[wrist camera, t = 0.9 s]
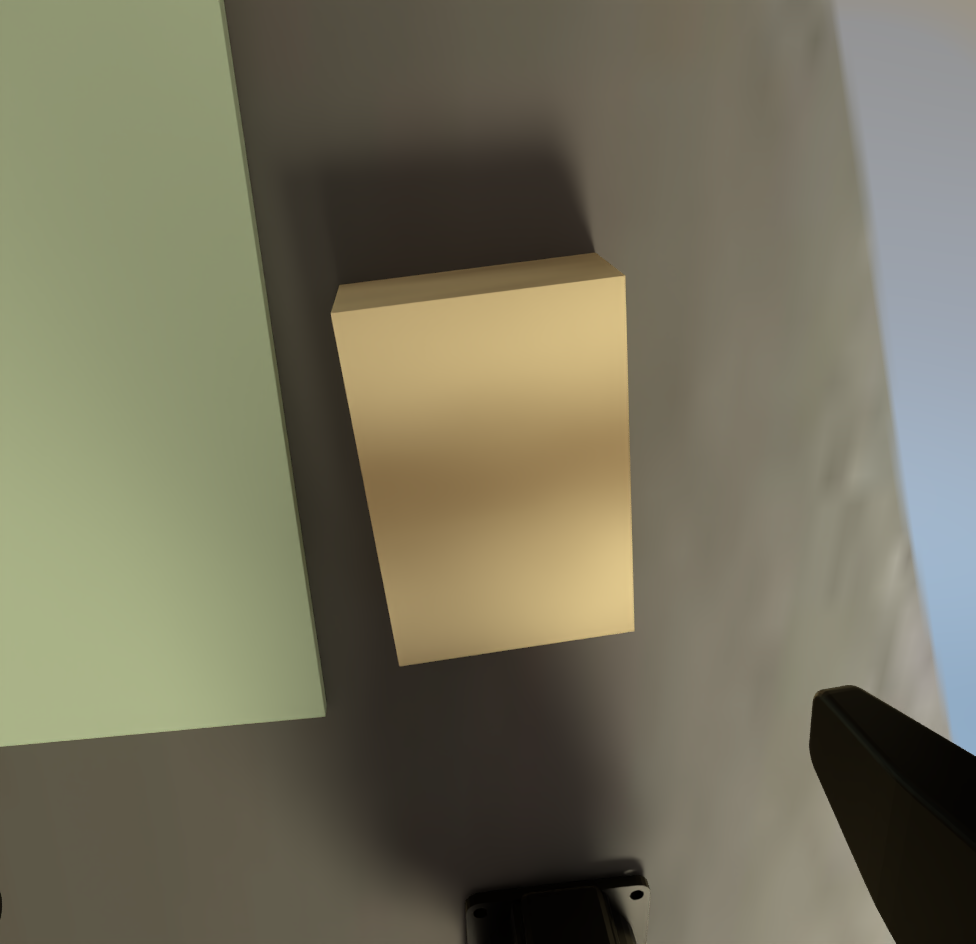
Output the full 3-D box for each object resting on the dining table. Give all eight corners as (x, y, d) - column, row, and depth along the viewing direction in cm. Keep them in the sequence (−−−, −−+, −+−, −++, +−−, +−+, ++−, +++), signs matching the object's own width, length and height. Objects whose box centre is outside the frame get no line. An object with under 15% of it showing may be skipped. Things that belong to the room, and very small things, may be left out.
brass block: (606, 567, 23) (634, 631, 20) (399, 597, 22) (399, 666, 20) (592, 250, 19) (625, 275, 16) (340, 281, 18) (330, 313, 16)
